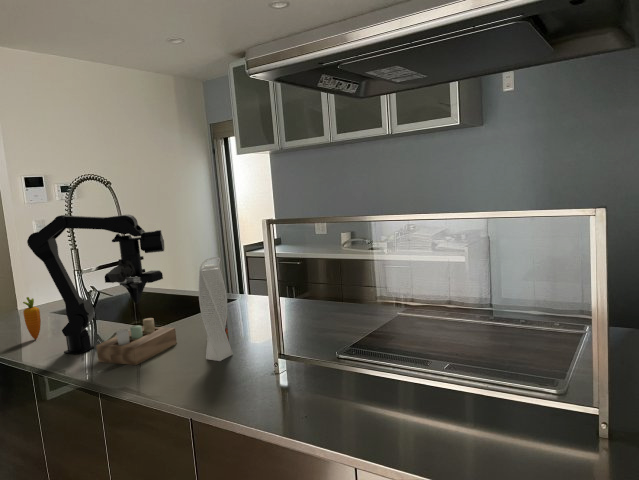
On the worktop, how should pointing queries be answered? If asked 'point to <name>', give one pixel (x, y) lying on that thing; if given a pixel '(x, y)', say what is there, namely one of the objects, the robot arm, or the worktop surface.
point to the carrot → (32, 318)
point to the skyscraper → (214, 310)
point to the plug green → (136, 332)
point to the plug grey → (123, 336)
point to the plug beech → (148, 325)
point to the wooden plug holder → (137, 347)
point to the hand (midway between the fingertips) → (136, 303)
